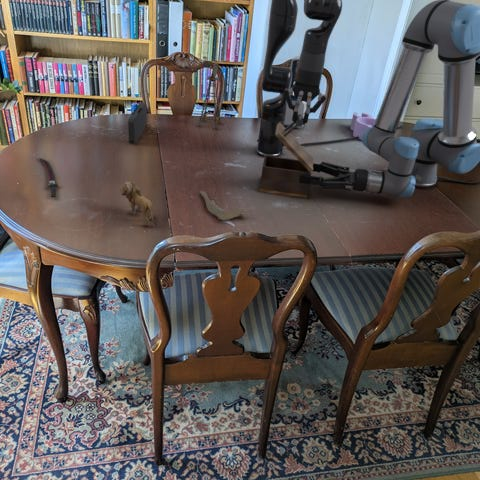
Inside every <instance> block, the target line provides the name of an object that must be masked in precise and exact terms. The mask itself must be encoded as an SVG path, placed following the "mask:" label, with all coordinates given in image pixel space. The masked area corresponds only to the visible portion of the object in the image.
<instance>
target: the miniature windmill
mask: <svg viewBox="0 0 480 480" xmlns="http://www.w3.org/2000/svg"><path fill="white" fill-rule="evenodd" d="M213 62H214V63H211V62H209V61H205V60H203V63H202V64H203V65H202V67H204V68H209V67H212V70H211V75H210V76H208V77H207V78H206V80H209V83H208V85H207V86H208V87H207V89H206V94H205V95H204V96H205V98H204V100H203V105H202V110H201V111H200V113H201V114H200V116H199V121H198V127H201V123H202V121H203V122H205V121H206V120H208V121H214V128H215V130H217V129H218V125H217V123H219V124H222V121H221V120H222V119H221V112H220V103H219V96H218V90H217V89H218V88H217V81H219V80H220V79H221V78H220V77H218V76H217V74H218V71H219V69H218V68H219V64H220V62H219V59H218V54H215V60H213ZM216 76H217V77H216ZM211 87H212V88H213V92H211ZM211 97H212V98H213V102H210V101H209V98H211ZM208 104H211V105H212V104H213V106H211V105H208ZM208 108H211V109H214V113H209V112H207V109H208ZM217 113H218V114H217ZM206 115H212V116H214V118H208V117H206ZM217 116H218V117H217ZM217 121H218V122H217Z"/></svg>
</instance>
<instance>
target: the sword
mask: <svg viewBox="0 0 480 480" xmlns="http://www.w3.org/2000/svg"><path fill="white" fill-rule="evenodd" d="M40 161H41V162H42V163H43V165H44V166H45V169H46V173H47V176H48V185H47V188H50V198H56V197H57V189H56V188H57V187H59V185H58V184H57V183H56V180H55V176H54V172H53V169H52V167H51V164H50V163H49V161H48V160H46V159H43V158H40Z"/></svg>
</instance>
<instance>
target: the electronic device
mask: <svg viewBox="0 0 480 480" xmlns="http://www.w3.org/2000/svg"><path fill="white" fill-rule="evenodd" d="M299 58H300V55H298V56H294V57H292V59H291V61H290V67H289V68H290V69H291V70H292V80H291V86H290V88H292V87H293V85H294V83H295V79H296V73H297V66H298V62H299ZM290 97H291V100H292V103H293V105H295V103H296V100H297V99H296V96H295V94H294V95H293V94H292V95H291V96H290ZM306 104H307V102H304V101H301V102H300V105H299V108H298V114H302V115H303V118H304V113H305V111H306ZM292 117H293V110H292V109H289V107H288V104H287V109H286V116H285V123H284V127H288V126H289V125H290V124H291V123H292V122H294V121H292ZM294 125H295V124H294ZM294 125H293V126H294ZM293 126H292V127H293ZM304 126H305V125H302V126H297V127H296V128H295V129H297V130H298V129H299V130H300V129H302V128H304ZM292 127H291V128H292Z"/></svg>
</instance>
